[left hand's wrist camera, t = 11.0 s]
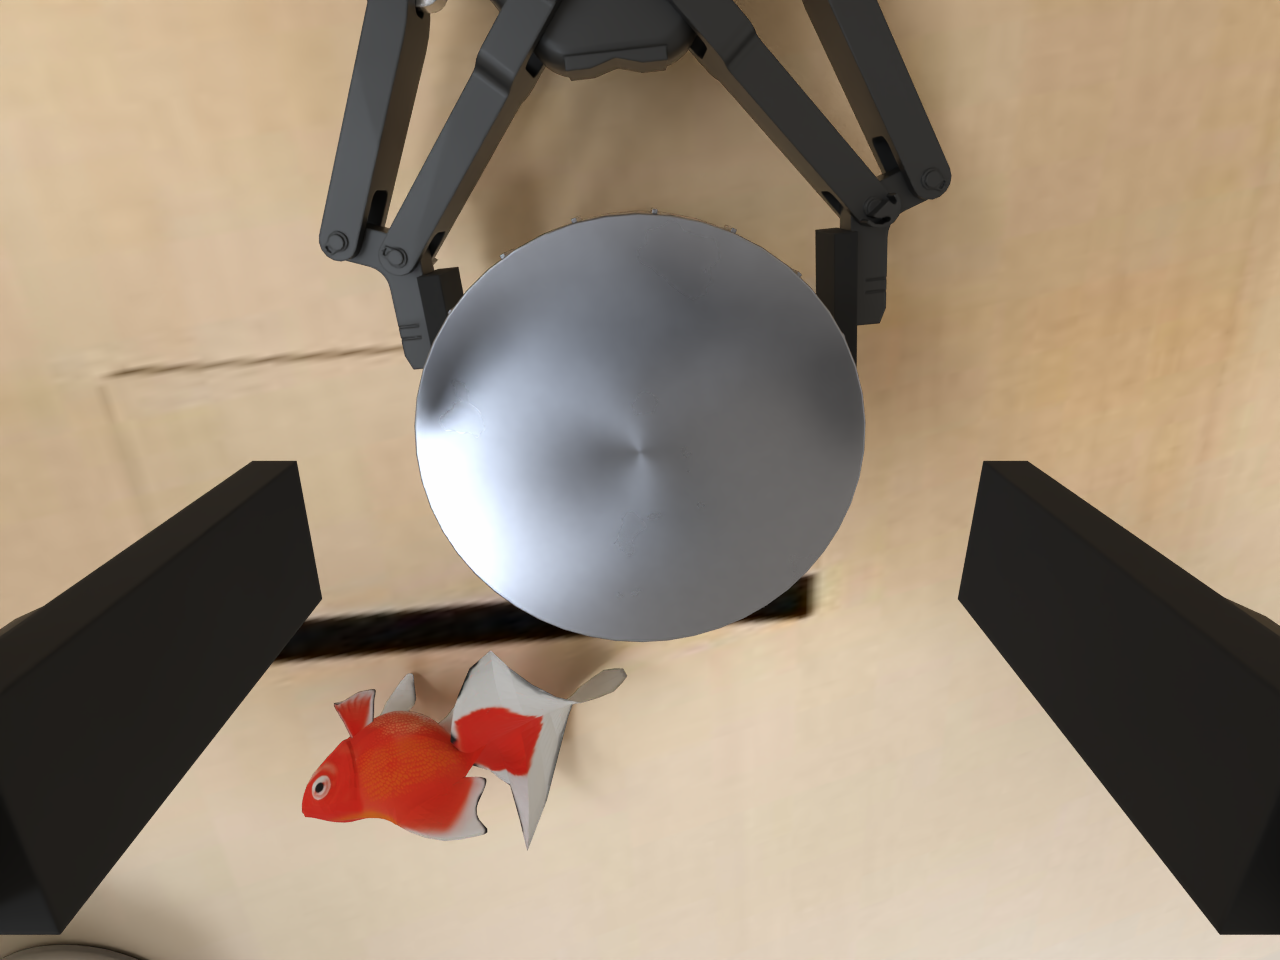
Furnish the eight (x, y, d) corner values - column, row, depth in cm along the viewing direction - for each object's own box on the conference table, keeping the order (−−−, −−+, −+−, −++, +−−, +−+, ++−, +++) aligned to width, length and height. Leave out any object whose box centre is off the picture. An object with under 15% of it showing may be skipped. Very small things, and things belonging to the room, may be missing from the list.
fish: (258, 622, 32) (276, 841, 25) (591, 545, 38) (676, 706, 31) (301, 750, 39) (324, 948, 32) (577, 667, 45) (644, 820, 38)
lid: (367, 279, 17) (335, 289, 15) (804, 149, 16) (824, 143, 14) (512, 639, 21) (501, 682, 19) (875, 552, 20) (899, 589, 18)
